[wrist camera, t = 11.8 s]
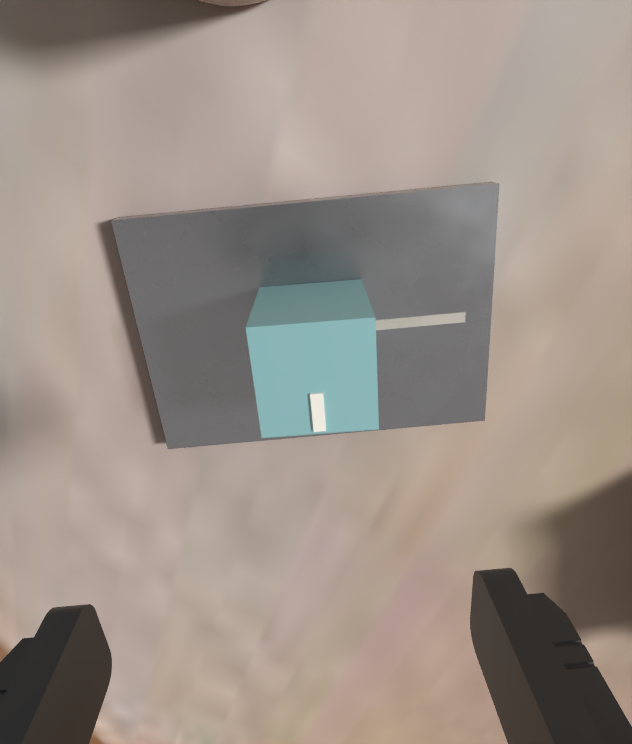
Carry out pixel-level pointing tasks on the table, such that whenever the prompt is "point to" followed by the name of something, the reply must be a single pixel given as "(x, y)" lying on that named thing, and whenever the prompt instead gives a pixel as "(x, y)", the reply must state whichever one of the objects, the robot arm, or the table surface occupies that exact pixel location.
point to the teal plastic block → (314, 358)
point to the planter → (232, 2)
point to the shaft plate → (314, 265)
